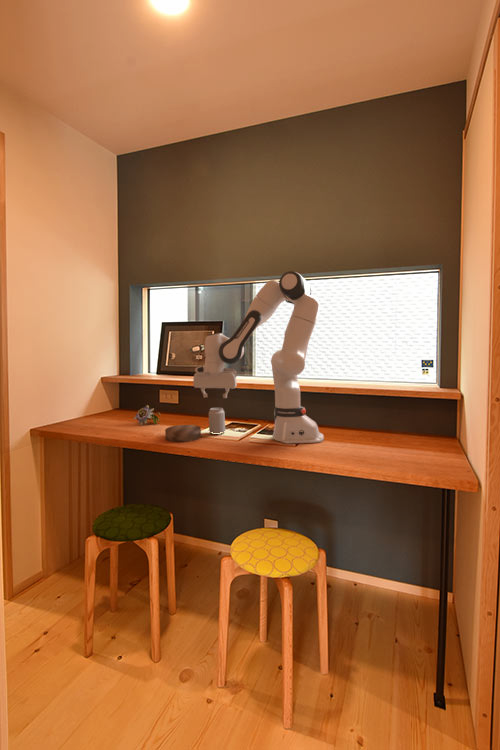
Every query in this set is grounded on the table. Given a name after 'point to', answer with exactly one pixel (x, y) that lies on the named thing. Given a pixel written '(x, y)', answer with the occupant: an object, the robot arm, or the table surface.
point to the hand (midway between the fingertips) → (215, 397)
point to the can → (216, 420)
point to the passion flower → (146, 415)
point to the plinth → (183, 433)
